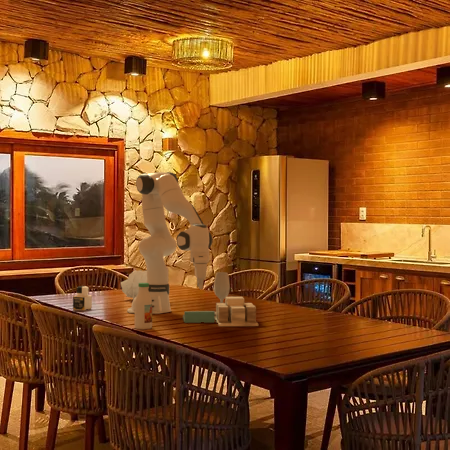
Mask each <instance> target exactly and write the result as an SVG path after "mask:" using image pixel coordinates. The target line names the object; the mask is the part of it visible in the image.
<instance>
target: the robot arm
mask: <svg viewBox="0 0 450 450" xmlns="http://www.w3.org/2000/svg"><path fill="white" fill-rule="evenodd" d="M135 185H136V186H135V187H136V190H137V191H138V192H139V194H141V196H142V197H141V209H142V219H143V223H144V227H145V228H146V229H147V230H148V232H149V234H150V236H149V235H148V236H147V237H144V238H143V239H141V240H140V242H139V243H138V251H139V253H140V254H141V256H142V257H143V259H144V262H145V266H146V270H147V283H149V288H148V291H149V294H150V296H151V299H152V315H154V314H155V315H158V314H163V313H169V312H172V309H171V303H170V283H169V268H168V266H167V265H166V263H165V259H164V257H168V256H170V255H172V254H174V253H175V252H176V250H177V247H178V249H179V250H181V251H186V252H187V251H188V252H189V251H190V263H193V266H194V276H195V278H196V285H197V288H198V289H199V290H203V289H204V281H206V279H207V272H208V271H207V270H208V269H207V268H208V263H209V262H210V248H211V247H212V245H213V240H214V239H213V235H212V234H211V232H210V231H209V228H208V225H207V224H205V223H203V221H202V219H201V217H200V215H199V213H198V211H197V210H196V208H195V206H194V205H193V204H192V203H191V202H190V201H189V200H188V199H187V198H186V197H185V195H184V193H183V191H182V188H181V187H180V184H179V179H178V176H177V174H175V173H173V172H170V171H165V172H164V171H159V172H156V171H155V172H151V173H141V174H139V175H138V176H137V178H136V182H135ZM165 210H166V211H168V212H169V213H172V214H176V215H178V216H181V217H183V218H184V219H186V220H187V221H188V223H189V224H190V225H189V226H190V227H188V228H187V229H185V230H183V231H180V232H179V233H178V234H177V237H176V239H174V237H173V235H172V234H171V231H170V230H169V228H168V225H167V221H166V215H165ZM136 297H137V296H136ZM136 297H135V298H134V299H133V298H132V302H131V307H129V308H127V311H126V312H127V313H129V314H135V300H136Z"/></svg>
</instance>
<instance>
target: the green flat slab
mask: <svg viewBox="0 0 450 450" xmlns="http://www.w3.org/2000/svg"><path fill="white" fill-rule="evenodd" d="M215 312H216V311H215V310H200V311H199V310H195V311H194V310H190V311H189V310H188V311H187V310H185V311H184V312H183V313H184V314H182V320H183V322H184V323H185V324H186V323H191V324H192V323H201V322H204V323H215V317H216V315H215ZM201 324H202V323H201Z"/></svg>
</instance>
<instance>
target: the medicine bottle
mask: <svg viewBox="0 0 450 450" xmlns="http://www.w3.org/2000/svg"><path fill="white" fill-rule="evenodd" d="M91 308H93V295H91V294H89V287H88V286H86V285H78V286H77V287H76V295H73V296H72V310H73V311H75V310H76V311H87V310H86V309H88V310H91Z"/></svg>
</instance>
